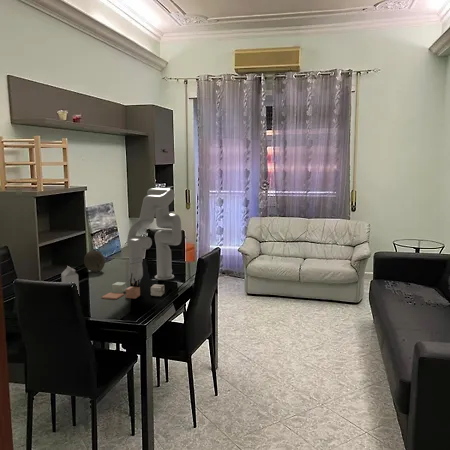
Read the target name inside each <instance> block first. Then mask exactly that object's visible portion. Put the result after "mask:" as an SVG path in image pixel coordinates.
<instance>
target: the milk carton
mask: <svg viewBox="0 0 450 450" xmlns="http://www.w3.org/2000/svg"><path fill="white" fill-rule="evenodd" d="M66 266H67V267H66V268H65V269H64V270H63V271H62V272H61V273H60V274H61V275H60V277H61V278H60V279H61V283H62V282H74V283H75V284H76V286H77V290H78V294H79V295H80V286H79V285H80V282H79V274H78V273H77V272H76V269H75V268H73V267H70V266H68V265H66Z"/></svg>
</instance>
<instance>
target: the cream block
mask: <svg viewBox="0 0 450 450" xmlns="http://www.w3.org/2000/svg"><path fill="white" fill-rule="evenodd" d="M164 294H165V284H157V283H156V284H152V286H150V296H151V297H152V296H153V297H162V296H163V295H164Z"/></svg>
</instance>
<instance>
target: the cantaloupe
mask: <svg viewBox="0 0 450 450" xmlns="http://www.w3.org/2000/svg"><path fill="white" fill-rule="evenodd" d="M83 262H84V266H85V268H86V269H87V270H88V271H90V272H93V273H99V272H101V271H102V270H103V269H104V267H105V265H106V260H105V257H104V255H103V253H102V252H101V251H99V250H90V251H88V252H87V253H86V254H85V255H84V259H83Z"/></svg>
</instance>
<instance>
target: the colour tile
mask: <svg viewBox="0 0 450 450" xmlns="http://www.w3.org/2000/svg"><path fill="white" fill-rule="evenodd" d="M124 293H125V292H123V293H112V292H108V293H106V294H105V295H103V296H101V299H104V300H118V299H119V298H122V297H123V296H124V295H125V294H124Z"/></svg>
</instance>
